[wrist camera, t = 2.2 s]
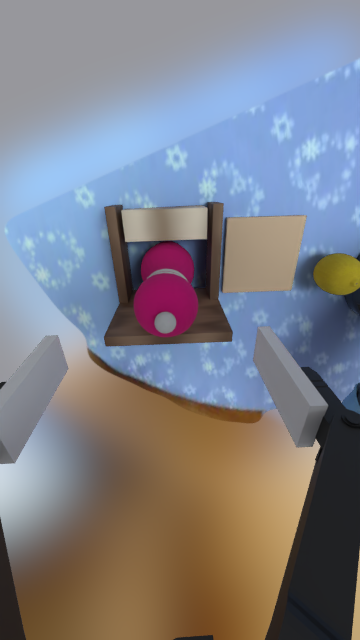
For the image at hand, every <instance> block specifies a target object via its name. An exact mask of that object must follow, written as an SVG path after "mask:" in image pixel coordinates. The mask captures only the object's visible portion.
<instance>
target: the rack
mask: <svg viewBox="0 0 360 640" xmlns="http://www.w3.org/2000/svg"><path fill="white" fill-rule="evenodd" d="M223 205H224V203H219V202H208V212H207V248H206V286H205V288H194V290H195V292H196V295H197V298H198V312H197V316H196V319H195V320H194V322H193V324H192V325H191V326H190V327H189V329H188V330H186V331H185V332H183V333H182V334H180V335H177V336H173V337H158V336H155V335H152V334H150V333H149V332H147V331H146V330H145V329H144V328H143V327H141V325H140V324H139V322H138V321H137V319H136V316H135V313H134V297H135V294H136V292H137V290H133V285H132V277H131V269H130V261H129V253H128V245H127V242H125V235H124V228H123V220H122V212H121V210H123V206H122V205H111V206H107V207H104V208H105V214H106V220H107V227H108V233H109V239H110V245H111V252H112V258H113V264H114V271H115V277H116V283H117V290H118V296H119V302H120V303H119V306H118V308H117V310H116V312H115V314H114V316H113V319H112V321H111V323H110V325H109V327H108V329H107V331H106V334H105V336H104V340H105V345H106V346H129V345H154V344H180V343H205V342H230V341H232V334H233V332H232V329H231V327H230V325H229V323H228V320H227V318H226V316H225V314H224V311H223V309H222V307H221V305H220V302H219V300H218V296H219V278H220V260H221V241H222V223H223Z"/></svg>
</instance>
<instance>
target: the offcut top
mask: <svg viewBox="0 0 360 640" xmlns="http://www.w3.org/2000/svg"><path fill="white" fill-rule="evenodd" d="M121 212H122V220H123V228H124V235H125V242H137V241H166V240H195V239H207V212H208V208H207V207H205V206H203V207H172V208H142V209H124V210H121Z"/></svg>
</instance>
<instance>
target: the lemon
mask: <svg viewBox="0 0 360 640" xmlns="http://www.w3.org/2000/svg"><path fill="white" fill-rule="evenodd" d="M313 276H314V280H315V282H316V284H317V285H318V286H319V287H320V288H321V289H322V290H324V291H326V292H328V293H331V294H335V295H346V294H350V293H352V292H354V291H356V290H357V289H358V288H360V261H358V260H357V259H356V258H354V257H352V256H350V255H346V254H341V253H337V254H331V255H328V256H326V257H324V258H322V259H321V260H320V261H319V262H318V263H317V264H316V266H315V268H314V273H313Z"/></svg>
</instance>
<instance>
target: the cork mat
mask: <svg viewBox="0 0 360 640" xmlns="http://www.w3.org/2000/svg"><path fill="white" fill-rule="evenodd" d="M306 217H307V216H306V215H293V216H260V217H228V218H226V233H225V249H224V265H223V282H222V292H223V293H232V292H259V291H287V290H291V289H292V284H293V280H294V275H295V270H296V265H297V260H298V256H299V251H300V246H301V241H302V236H303V231H304V227H305V222H306Z"/></svg>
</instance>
